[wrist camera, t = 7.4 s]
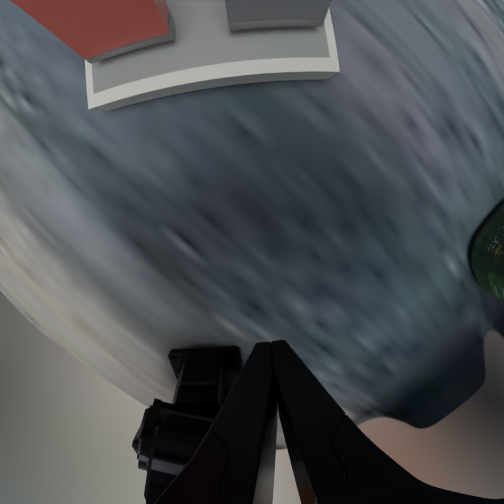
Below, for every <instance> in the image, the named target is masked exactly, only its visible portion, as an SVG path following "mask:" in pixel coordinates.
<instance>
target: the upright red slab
mask: <svg viewBox="0 0 504 504" xmlns="http://www.w3.org/2000/svg"><path fill="white" fill-rule="evenodd" d="M11 1H12V2H14V3H15V4H16V5H17V6H19V7H20V8H21V9H23V10H24V11H25V12H27V13H28V14H29V15H30V16H32V17H33V18H34V19H36V20H37V21H38V22H39V23H41V24H42V25H43V26H44V27H46V28H47V29H48V30H49V31H51V32H52V33H53V34H54V35H56V36H57V37H58V38H59V39H61V40H62V41H63V42H64V43H66V44H67V45H68V46H69V47H70V48H72V49H73V50H74V51H75V52H76V53H78V54H79V55H80V56H81V57H82V58H84V59H85V60H87V62H88V63H90V64H93V63H96V62H99V61H101V60H104V59H107V58H110V57H113V56H116V55H119V54H122V53H125V52H129V51H132V50H135V49H139V48H142V47H146V46H150V45H154V44H158V43H162V42H166V41H170V40H174V39H175V26H174V21H173V17H172V14H171V13H170V10H169V8H168V5H167V3H166V1H165V0H11Z"/></svg>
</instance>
